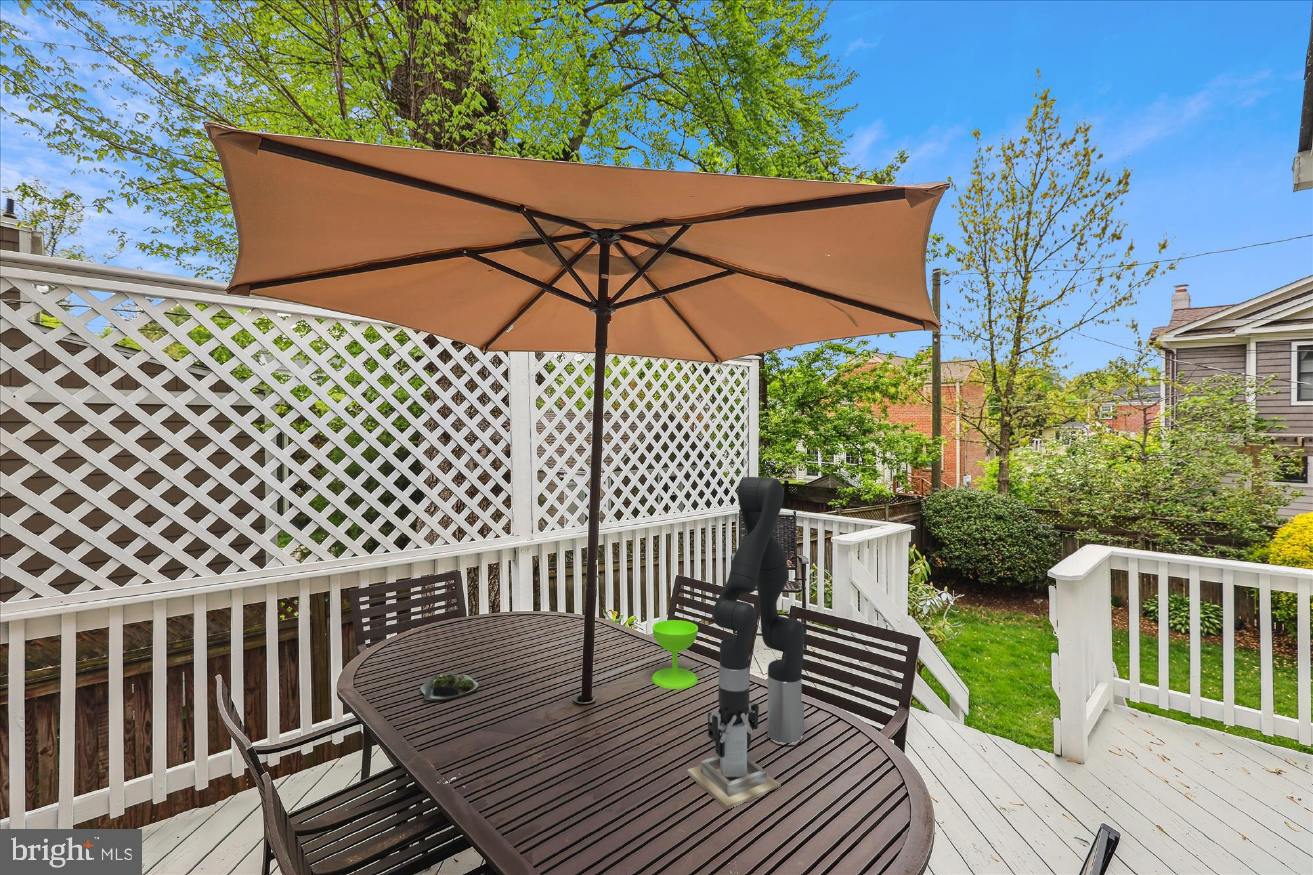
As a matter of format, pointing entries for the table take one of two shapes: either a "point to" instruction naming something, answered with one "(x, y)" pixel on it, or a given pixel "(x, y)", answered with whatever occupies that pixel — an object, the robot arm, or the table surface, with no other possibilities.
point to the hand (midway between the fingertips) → (733, 751)
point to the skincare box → (735, 752)
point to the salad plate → (448, 688)
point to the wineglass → (675, 652)
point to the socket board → (732, 782)
